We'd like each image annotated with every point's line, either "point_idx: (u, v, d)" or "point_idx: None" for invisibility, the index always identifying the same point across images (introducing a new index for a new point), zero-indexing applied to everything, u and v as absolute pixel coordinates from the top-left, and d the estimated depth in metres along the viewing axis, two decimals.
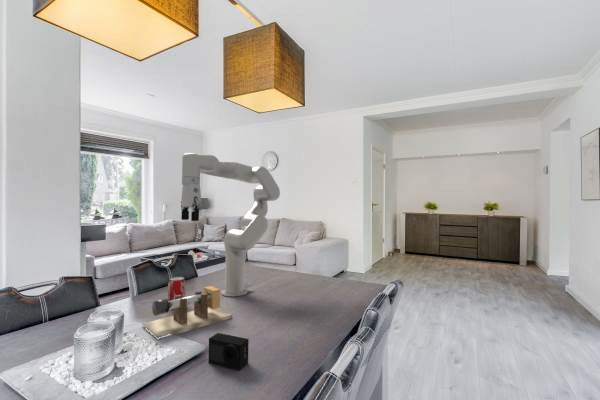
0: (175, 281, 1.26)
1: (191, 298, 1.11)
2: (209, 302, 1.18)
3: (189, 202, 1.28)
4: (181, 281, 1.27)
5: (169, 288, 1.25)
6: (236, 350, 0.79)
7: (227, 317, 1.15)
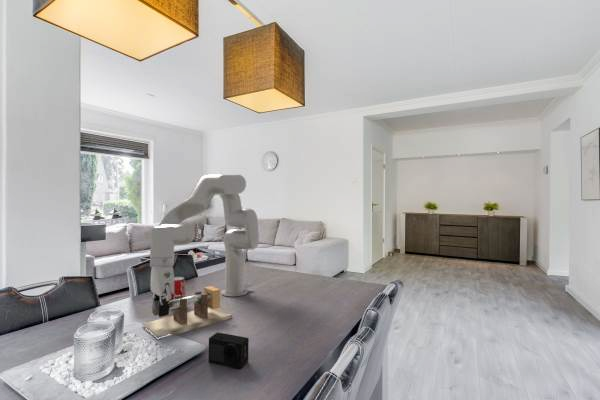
0: (175, 281, 1.26)
1: (191, 298, 1.11)
2: (209, 302, 1.18)
3: (158, 291, 1.00)
4: (181, 281, 1.27)
5: None
6: (237, 349, 0.80)
7: (227, 317, 1.15)
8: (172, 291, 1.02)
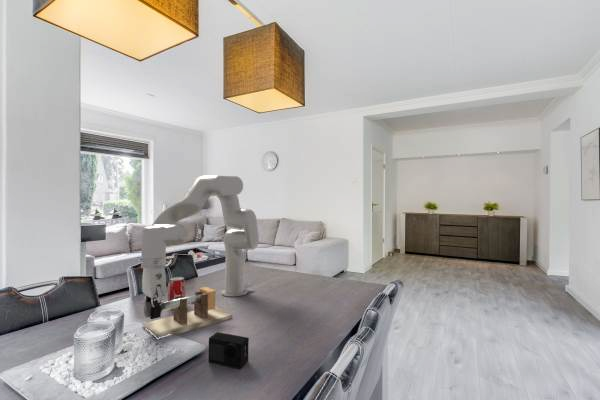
0: (175, 281, 1.26)
1: None
2: None
3: (150, 292, 0.98)
4: (181, 281, 1.27)
5: (169, 288, 1.25)
6: (237, 349, 0.80)
7: (227, 317, 1.15)
8: (164, 293, 1.00)
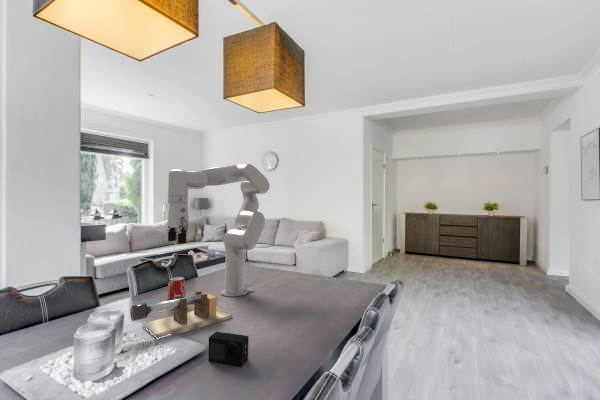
0: (175, 281, 1.26)
1: (172, 302, 1.06)
2: None
3: (175, 223, 1.18)
4: (181, 281, 1.27)
5: (169, 288, 1.25)
6: (238, 347, 0.81)
7: (227, 317, 1.15)
8: None
